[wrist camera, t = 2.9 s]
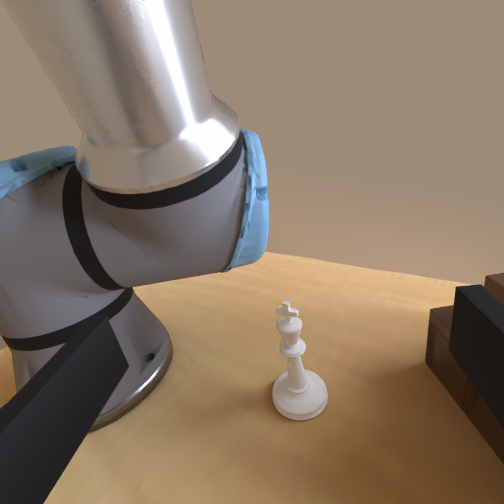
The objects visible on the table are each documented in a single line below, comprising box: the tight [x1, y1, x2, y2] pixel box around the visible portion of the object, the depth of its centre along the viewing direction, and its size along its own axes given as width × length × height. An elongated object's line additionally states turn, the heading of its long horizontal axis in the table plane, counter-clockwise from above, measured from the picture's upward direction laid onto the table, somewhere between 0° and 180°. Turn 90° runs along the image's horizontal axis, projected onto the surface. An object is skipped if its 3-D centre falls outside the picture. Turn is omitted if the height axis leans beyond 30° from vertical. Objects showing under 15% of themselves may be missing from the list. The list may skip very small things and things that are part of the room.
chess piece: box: [272, 301, 328, 420], centre depth 24 cm, size 5×5×10 cm
